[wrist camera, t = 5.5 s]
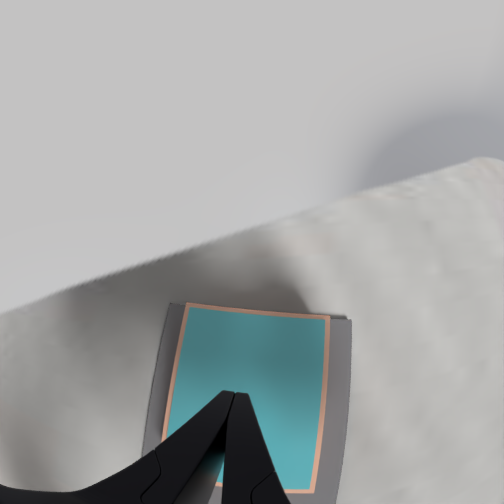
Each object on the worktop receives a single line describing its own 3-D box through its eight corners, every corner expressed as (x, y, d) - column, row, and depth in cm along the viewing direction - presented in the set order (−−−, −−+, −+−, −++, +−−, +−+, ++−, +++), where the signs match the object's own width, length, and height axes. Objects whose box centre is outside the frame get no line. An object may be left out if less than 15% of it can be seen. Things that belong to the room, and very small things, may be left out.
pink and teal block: (314, 493, 9) (330, 314, 14) (156, 472, 10) (185, 301, 15) (307, 481, 11) (321, 327, 16) (172, 463, 12) (196, 316, 17)
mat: (324, 540, 9) (325, 543, 8) (140, 515, 10) (137, 517, 10) (349, 321, 17) (351, 319, 17) (172, 305, 18) (170, 303, 18)
